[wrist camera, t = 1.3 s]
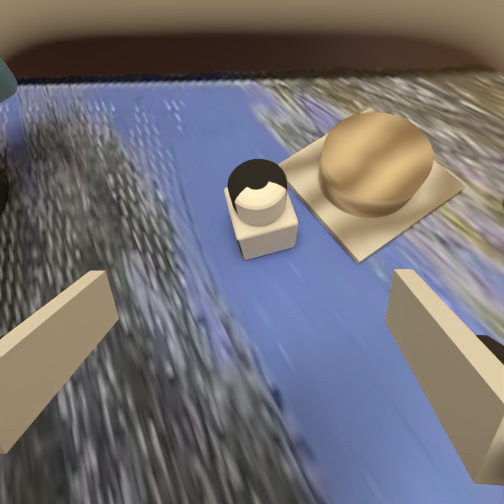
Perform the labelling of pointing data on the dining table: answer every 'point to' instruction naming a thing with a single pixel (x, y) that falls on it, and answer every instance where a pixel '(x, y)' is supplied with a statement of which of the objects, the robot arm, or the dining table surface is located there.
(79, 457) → the dining table surface
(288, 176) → the post stand
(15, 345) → the robot arm
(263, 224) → the medicine bottle
